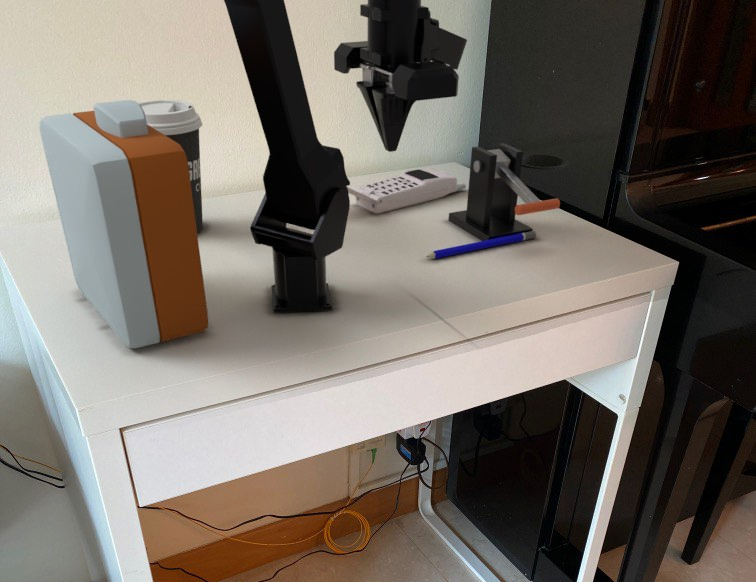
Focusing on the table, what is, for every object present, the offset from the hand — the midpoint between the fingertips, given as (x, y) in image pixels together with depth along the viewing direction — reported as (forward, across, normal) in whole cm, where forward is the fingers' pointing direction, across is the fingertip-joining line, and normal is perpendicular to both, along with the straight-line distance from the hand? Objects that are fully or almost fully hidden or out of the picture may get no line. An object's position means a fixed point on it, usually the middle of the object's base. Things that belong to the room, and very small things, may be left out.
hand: (390, 150), depth 93 cm
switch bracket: (+12, +1, -16) cm, 20 cm away
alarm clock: (+12, -4, +33) cm, 35 cm away
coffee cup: (+12, +19, +22) cm, 31 cm away
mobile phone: (+12, +16, -9) cm, 22 cm away
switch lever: (+6, -4, -16) cm, 17 cm away
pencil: (+12, -5, -11) cm, 17 cm away
